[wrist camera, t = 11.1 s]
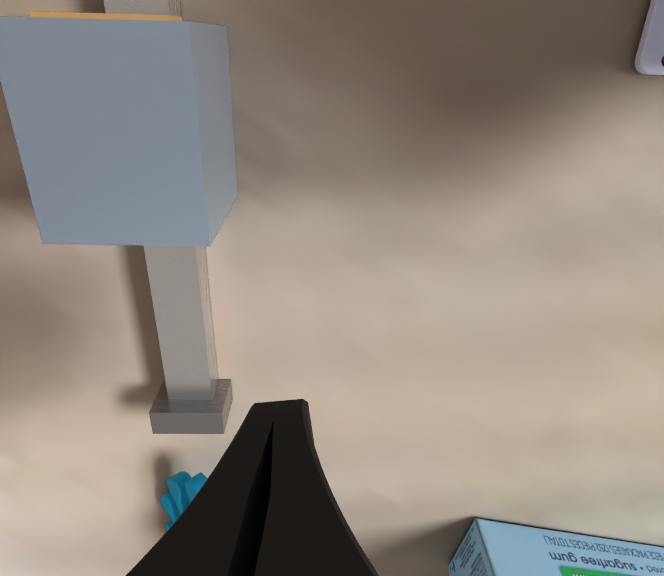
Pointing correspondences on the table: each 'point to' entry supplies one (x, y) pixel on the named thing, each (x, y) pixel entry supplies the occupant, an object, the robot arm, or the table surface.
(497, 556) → the gum box
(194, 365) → the rail
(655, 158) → the table surface
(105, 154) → the block
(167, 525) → the gear
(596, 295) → the table surface
